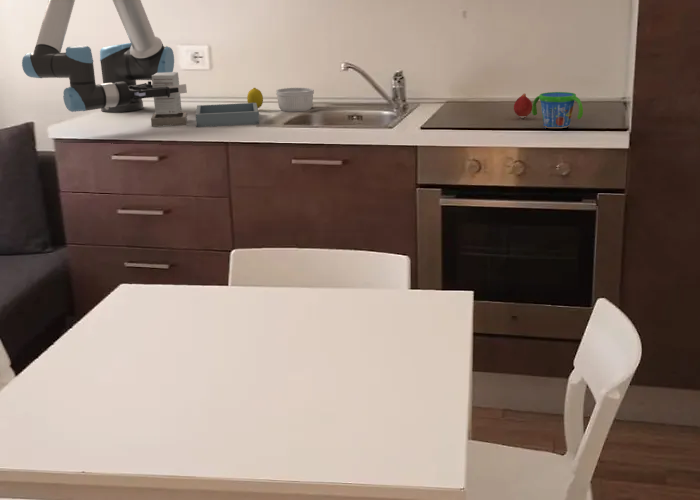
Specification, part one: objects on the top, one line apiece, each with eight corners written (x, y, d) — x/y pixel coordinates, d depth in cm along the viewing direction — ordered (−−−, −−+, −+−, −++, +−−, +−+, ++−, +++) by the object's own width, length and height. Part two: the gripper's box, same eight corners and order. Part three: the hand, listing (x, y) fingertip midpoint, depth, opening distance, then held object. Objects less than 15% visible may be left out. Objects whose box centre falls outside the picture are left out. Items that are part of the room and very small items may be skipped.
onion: (512, 120, 278) (513, 94, 276) (514, 117, 284) (514, 92, 281) (531, 120, 277) (532, 94, 275) (532, 117, 282) (533, 92, 280)
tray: (198, 117, 301) (197, 105, 299) (256, 114, 303) (256, 102, 302) (196, 127, 282) (195, 114, 281) (259, 123, 284) (258, 111, 283)
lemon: (256, 112, 308) (254, 89, 305) (244, 110, 311) (243, 88, 309) (266, 109, 312) (265, 87, 310) (255, 108, 315) (254, 86, 313)
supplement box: (160, 110, 293) (156, 72, 290) (182, 110, 293) (178, 71, 289) (154, 114, 286) (150, 75, 282) (177, 114, 286) (173, 74, 282)
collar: (154, 120, 296) (153, 113, 295) (187, 119, 297) (186, 111, 296) (151, 126, 285) (150, 118, 284) (186, 124, 287) (185, 117, 286)
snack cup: (524, 128, 265) (525, 94, 262) (544, 123, 272) (545, 90, 269) (568, 133, 254) (570, 98, 251) (588, 128, 261) (590, 94, 258)
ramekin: (320, 107, 314) (320, 87, 312) (303, 113, 303) (302, 93, 301) (288, 106, 320) (287, 86, 318) (270, 111, 309) (269, 91, 306)
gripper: (101, 102, 287) (163, 94, 299) (131, 110, 270) (195, 101, 283) (98, 79, 284) (161, 72, 297) (128, 85, 267) (193, 78, 280)
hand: (178, 86), depth 290 cm, fingers closed on supplement box, 10 cm apart
